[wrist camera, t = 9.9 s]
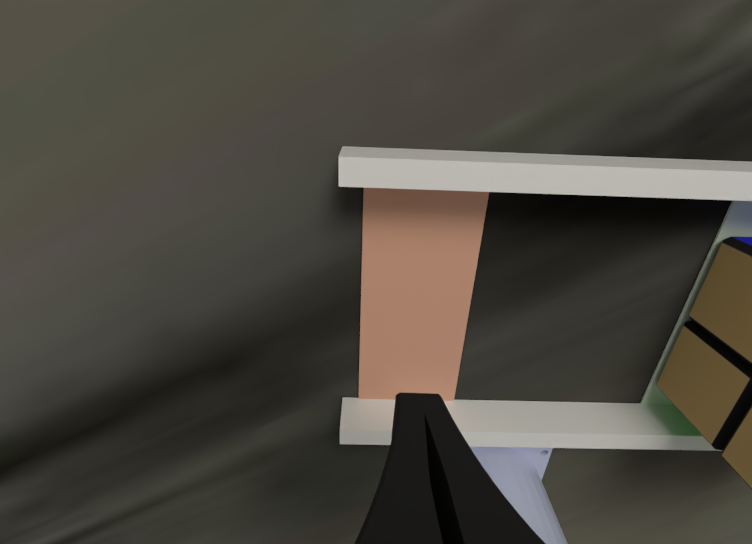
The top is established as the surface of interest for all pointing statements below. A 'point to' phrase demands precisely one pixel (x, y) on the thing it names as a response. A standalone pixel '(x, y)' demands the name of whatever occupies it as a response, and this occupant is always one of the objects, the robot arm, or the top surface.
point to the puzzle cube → (718, 358)
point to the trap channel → (456, 279)
